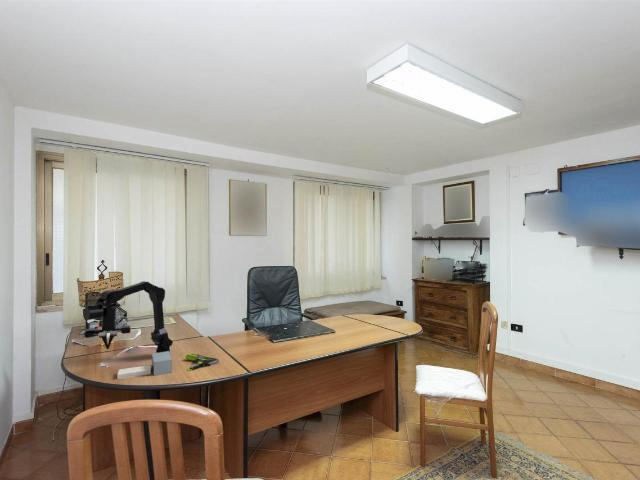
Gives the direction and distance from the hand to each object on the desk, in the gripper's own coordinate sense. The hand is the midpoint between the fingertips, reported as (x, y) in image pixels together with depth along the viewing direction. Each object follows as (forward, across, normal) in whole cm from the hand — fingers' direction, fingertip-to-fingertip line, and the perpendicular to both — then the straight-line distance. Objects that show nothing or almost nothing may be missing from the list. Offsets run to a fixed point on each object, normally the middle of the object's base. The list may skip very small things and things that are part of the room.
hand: (107, 348), depth 161 cm
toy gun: (+13, -40, +6) cm, 43 cm away
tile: (+13, -12, +4) cm, 18 cm away
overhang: (+12, -24, +4) cm, 27 cm away
